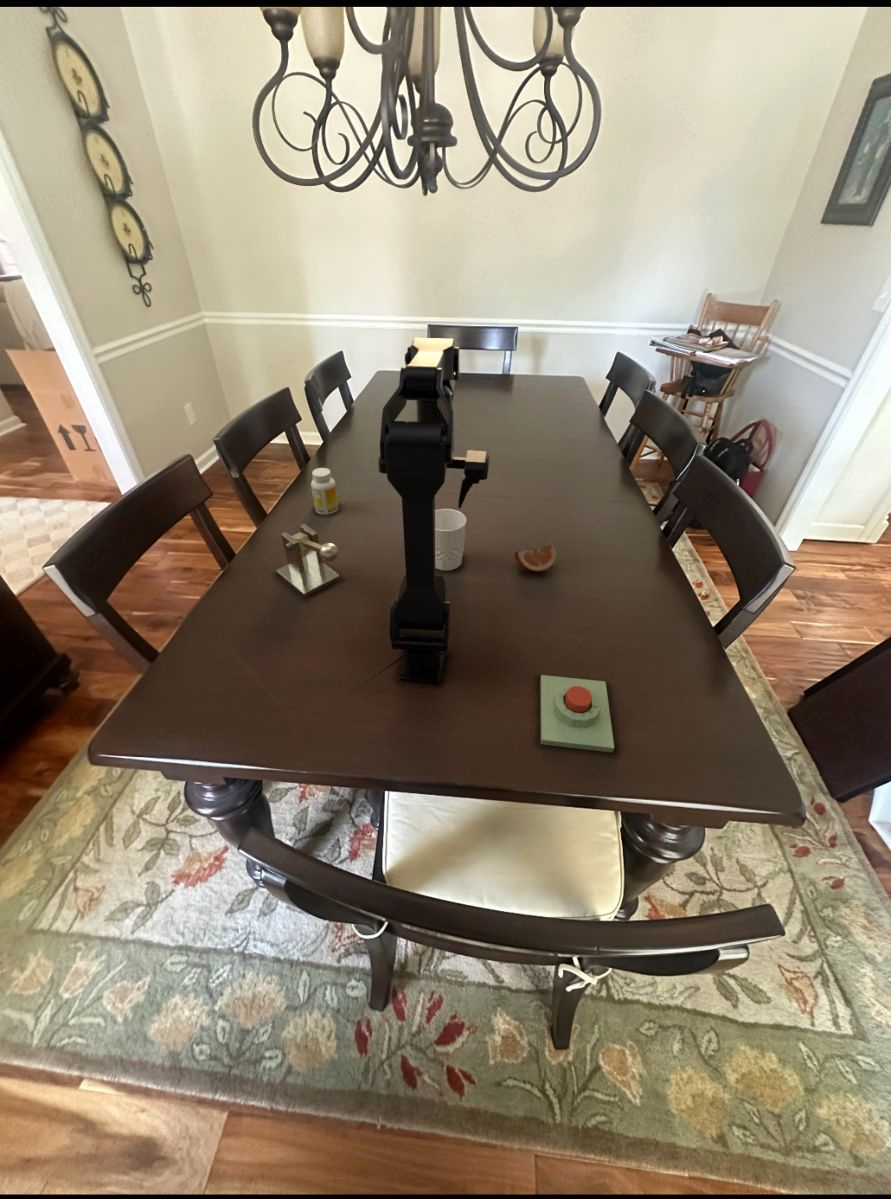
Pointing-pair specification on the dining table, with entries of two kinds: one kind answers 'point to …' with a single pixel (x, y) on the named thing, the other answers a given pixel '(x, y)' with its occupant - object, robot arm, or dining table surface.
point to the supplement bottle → (324, 491)
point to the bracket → (305, 565)
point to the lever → (317, 547)
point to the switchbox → (575, 715)
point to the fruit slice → (536, 558)
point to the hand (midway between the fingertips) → (434, 505)
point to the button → (578, 699)
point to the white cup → (449, 538)
